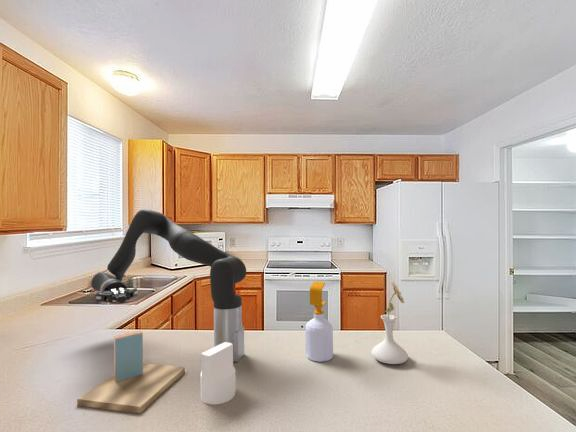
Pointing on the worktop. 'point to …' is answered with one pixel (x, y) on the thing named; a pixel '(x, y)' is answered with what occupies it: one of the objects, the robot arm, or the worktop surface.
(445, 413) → the worktop surface
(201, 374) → the base with upright slab
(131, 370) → the tile
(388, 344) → the flower in vase
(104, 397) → the board
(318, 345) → the soap bottle
